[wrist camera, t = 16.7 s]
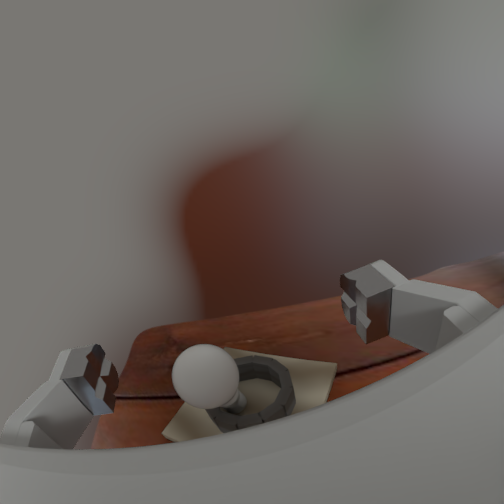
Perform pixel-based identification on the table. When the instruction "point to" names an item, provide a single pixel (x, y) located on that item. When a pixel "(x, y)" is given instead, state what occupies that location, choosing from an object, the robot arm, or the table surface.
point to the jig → (259, 395)
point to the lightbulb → (208, 379)
